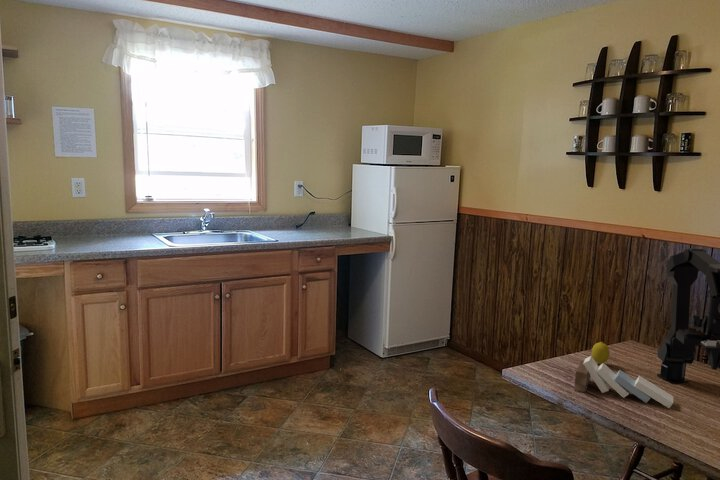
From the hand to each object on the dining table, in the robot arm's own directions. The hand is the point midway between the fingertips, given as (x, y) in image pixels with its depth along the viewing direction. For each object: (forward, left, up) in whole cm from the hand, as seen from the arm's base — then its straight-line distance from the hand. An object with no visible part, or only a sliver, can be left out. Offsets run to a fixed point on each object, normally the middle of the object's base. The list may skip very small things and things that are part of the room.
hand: (713, 369), depth 140 cm
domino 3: (+6, -6, -12) cm, 15 cm away
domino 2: (+14, -14, -12) cm, 24 cm away
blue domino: (+10, -10, -12) cm, 19 cm away
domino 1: (+18, -18, -12) cm, 29 cm away
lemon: (+6, -37, -13) cm, 40 cm away
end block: (+23, -23, -13) cm, 35 cm away
